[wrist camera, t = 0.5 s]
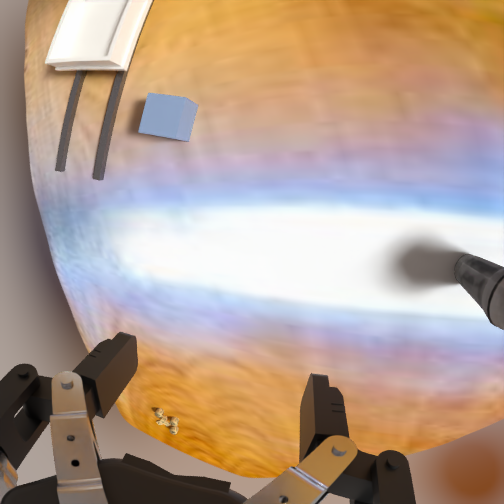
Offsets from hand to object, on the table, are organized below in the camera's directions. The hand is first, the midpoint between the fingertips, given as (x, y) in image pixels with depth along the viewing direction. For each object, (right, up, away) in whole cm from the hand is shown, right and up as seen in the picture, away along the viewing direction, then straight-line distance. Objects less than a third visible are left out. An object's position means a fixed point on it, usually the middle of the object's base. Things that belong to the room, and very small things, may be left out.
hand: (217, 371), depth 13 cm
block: (-8, +22, +24) cm, 34 cm away
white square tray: (-19, +37, +20) cm, 46 cm away
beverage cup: (+33, +3, +25) cm, 41 cm away
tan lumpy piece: (-14, -27, +39) cm, 49 cm away
